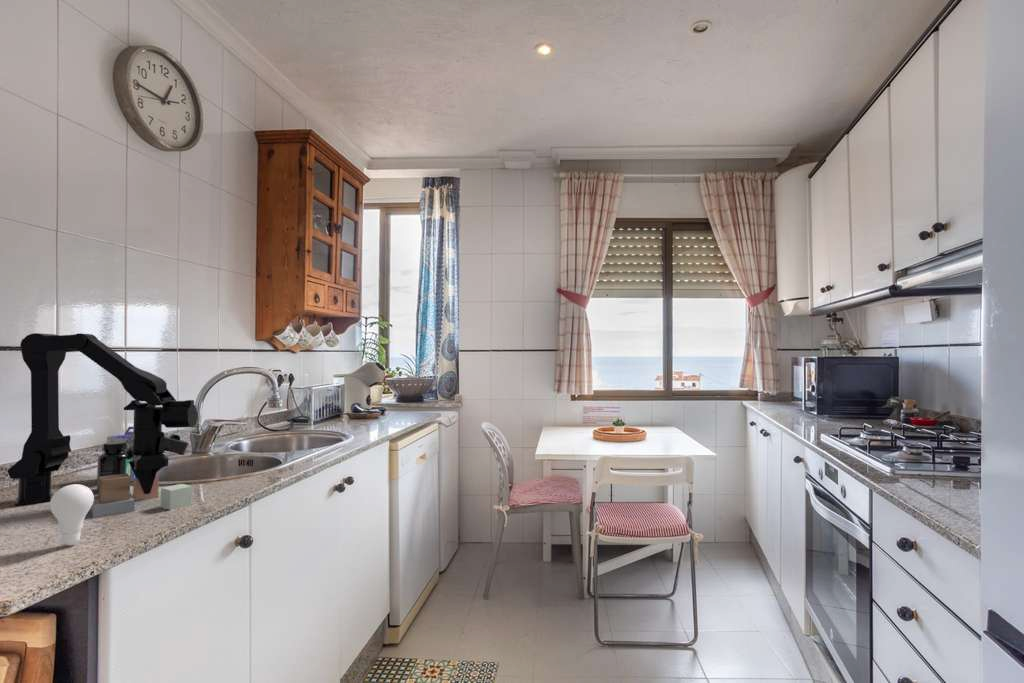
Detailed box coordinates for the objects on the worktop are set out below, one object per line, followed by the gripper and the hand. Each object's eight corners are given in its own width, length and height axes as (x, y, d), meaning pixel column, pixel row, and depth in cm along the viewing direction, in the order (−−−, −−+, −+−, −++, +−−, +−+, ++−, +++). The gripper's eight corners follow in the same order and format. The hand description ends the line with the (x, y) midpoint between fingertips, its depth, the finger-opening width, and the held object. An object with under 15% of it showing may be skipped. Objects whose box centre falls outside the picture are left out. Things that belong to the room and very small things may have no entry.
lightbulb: (66, 539, 96) (68, 480, 96) (100, 539, 96) (102, 480, 97) (38, 552, 90) (41, 489, 90) (75, 551, 90) (77, 488, 90)
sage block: (160, 507, 117) (161, 487, 117) (181, 502, 121) (182, 483, 121) (170, 510, 114) (170, 490, 115) (191, 505, 118) (192, 486, 118)
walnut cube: (98, 499, 114) (99, 476, 114) (126, 495, 117) (126, 473, 117) (100, 503, 110) (101, 480, 110) (129, 499, 114) (130, 477, 114)
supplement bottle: (136, 487, 134) (137, 441, 134) (106, 494, 127) (108, 445, 128) (120, 484, 136) (121, 439, 137) (90, 490, 130) (92, 443, 131)
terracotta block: (133, 496, 125) (133, 478, 125) (155, 493, 128) (155, 475, 128) (135, 500, 122) (136, 481, 122) (158, 497, 125) (158, 478, 125)
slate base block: (91, 512, 114) (91, 499, 114) (129, 506, 119) (130, 493, 119) (93, 520, 109) (94, 506, 109) (134, 513, 113) (134, 499, 114)
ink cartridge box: (151, 478, 144) (152, 426, 145) (132, 482, 139) (134, 429, 139) (122, 476, 146) (123, 425, 147) (103, 480, 141) (105, 428, 141)
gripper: (193, 429, 124) (192, 493, 124) (178, 421, 138) (176, 479, 137) (137, 433, 117) (135, 502, 116) (127, 425, 130) (125, 486, 130)
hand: (145, 491), depth 125 cm, fingers closed on terracotta block, 4 cm apart
